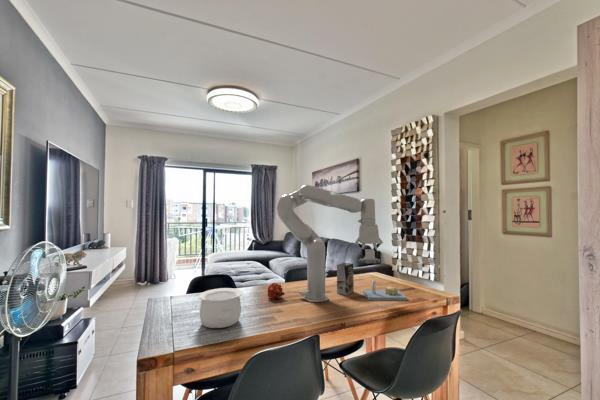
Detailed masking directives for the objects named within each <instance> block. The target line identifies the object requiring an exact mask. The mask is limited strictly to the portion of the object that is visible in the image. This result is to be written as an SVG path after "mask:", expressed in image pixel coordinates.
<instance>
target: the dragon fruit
mask: <svg viewBox="0 0 600 400" xmlns="http://www.w3.org/2000/svg"><path fill="white" fill-rule="evenodd" d="M284 295H285V292H284V291H283V288H282V285H281V284H278V283H277V282H273V283H271V284H270V285H269V286H268V287H267V296H268V298H271V299H272V300H273V301H276V299H280V298H281V297H282V296H284Z"/></svg>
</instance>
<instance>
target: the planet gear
mask: <svg viewBox="0 0 600 400" xmlns="http://www.w3.org/2000/svg"><path fill="white" fill-rule="evenodd" d="M364 249H365V248H364ZM358 263H362V264H380V263H381V258H377V257H375V250H373V248H371V249H369V248H367V249H365V257H363V258H359V259H358Z"/></svg>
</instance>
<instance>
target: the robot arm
mask: <svg viewBox="0 0 600 400" xmlns="http://www.w3.org/2000/svg"><path fill="white" fill-rule="evenodd" d="M308 202H310V203H314V204H317V205H320V206H324V207H328V208H336V209H340V210H344V211H346V212H347V211H348V212H349V213H350V214H351V213H352V214H353V213H354V214H355V213H360V219H358V220H357V222H358V223H360V224H359V227H358V228H359V229H358V237H357V239H355V242H354V243H355V245H357V246H358V247H359V248H361V256H363V258H364V257H365V246H366V245H368V244H369V245H371V244H372V245H373V248H372V249H373V250H375V258H377V257H376V256H377V255H378V254H377V252H378V251H377V250H378V248H379V247H380V246H381V245H382V244H383V243H384V242H383V240H382V239H381V237H380V232H379V227H378V224H376V202H375V199H374V198H362V199H359V198H357V197H354V196H353V197H352V196H349V195H347V194H346V195H345V194H343V193H342V194H341V193H338V192H336V191H335V192H334V191H332V190H328V189H324V188H320V187H317V186H314V185H311V184H304V185H302V186H301V187H300V188H299V189H297V190H296V191H294V192H292V193H287V194H283V195H282V196H280V198H279V200H278V202H277V207H276V211H277V216H278V217H279V220H280V221H281V222H282V223H283V225H285V227H286V228H287V229H288V231H290V233H291V234H292V235H293V236H294V238H295V239H296V240H297V241H299V242H301V243H302V244H303V246H304V247H305V248H306V261H307V262H306V263H307V265H306V266H307V268H306V269H307V271H306V272H307V273H306V274H307V275H306V276H307V277H306V278H307V281H306V282H307V288H306V290H298V294H299V295H301V296H304V300H305V301H307V302H310V303H325V302H327V301H328V300H329V296H328V295H327V294H326V246H325V242H324V240H322V238H321V237H320V236H319V235H318V233H316V232H315V231H314V230H313V229H312V227H311V226H310V225H308V224H306V223H305V221H303V220H302V219H301V218H300V217H299V216H298V214H296V212H295V210H294V209H296V208H298V207H300V206H302V205H304V204H305V203H308ZM299 295H298V296H299Z"/></svg>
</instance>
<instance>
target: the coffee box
mask: <svg viewBox="0 0 600 400" xmlns="http://www.w3.org/2000/svg"><path fill="white" fill-rule="evenodd" d="M354 278H355V277H354V263H349V262H344V263H340V264H336V294H339V295H342V296H343V295H344V296H348V295H350V294H351V293H352V294H353V293H354V291H355V288H354V286H355V285H354V284H355V283H354V282H355V281H354Z"/></svg>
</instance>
